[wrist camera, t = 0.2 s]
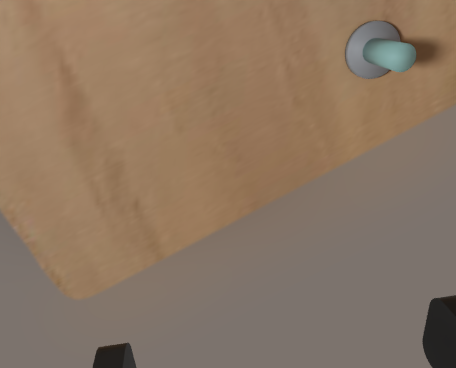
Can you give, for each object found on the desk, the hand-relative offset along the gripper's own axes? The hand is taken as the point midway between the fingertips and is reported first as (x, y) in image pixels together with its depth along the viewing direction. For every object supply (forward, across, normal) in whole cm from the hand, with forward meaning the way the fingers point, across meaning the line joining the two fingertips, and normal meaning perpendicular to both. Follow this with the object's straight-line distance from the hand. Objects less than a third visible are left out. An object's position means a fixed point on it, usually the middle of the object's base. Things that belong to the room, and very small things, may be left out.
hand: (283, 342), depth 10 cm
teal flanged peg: (+29, -16, -3) cm, 33 cm away
